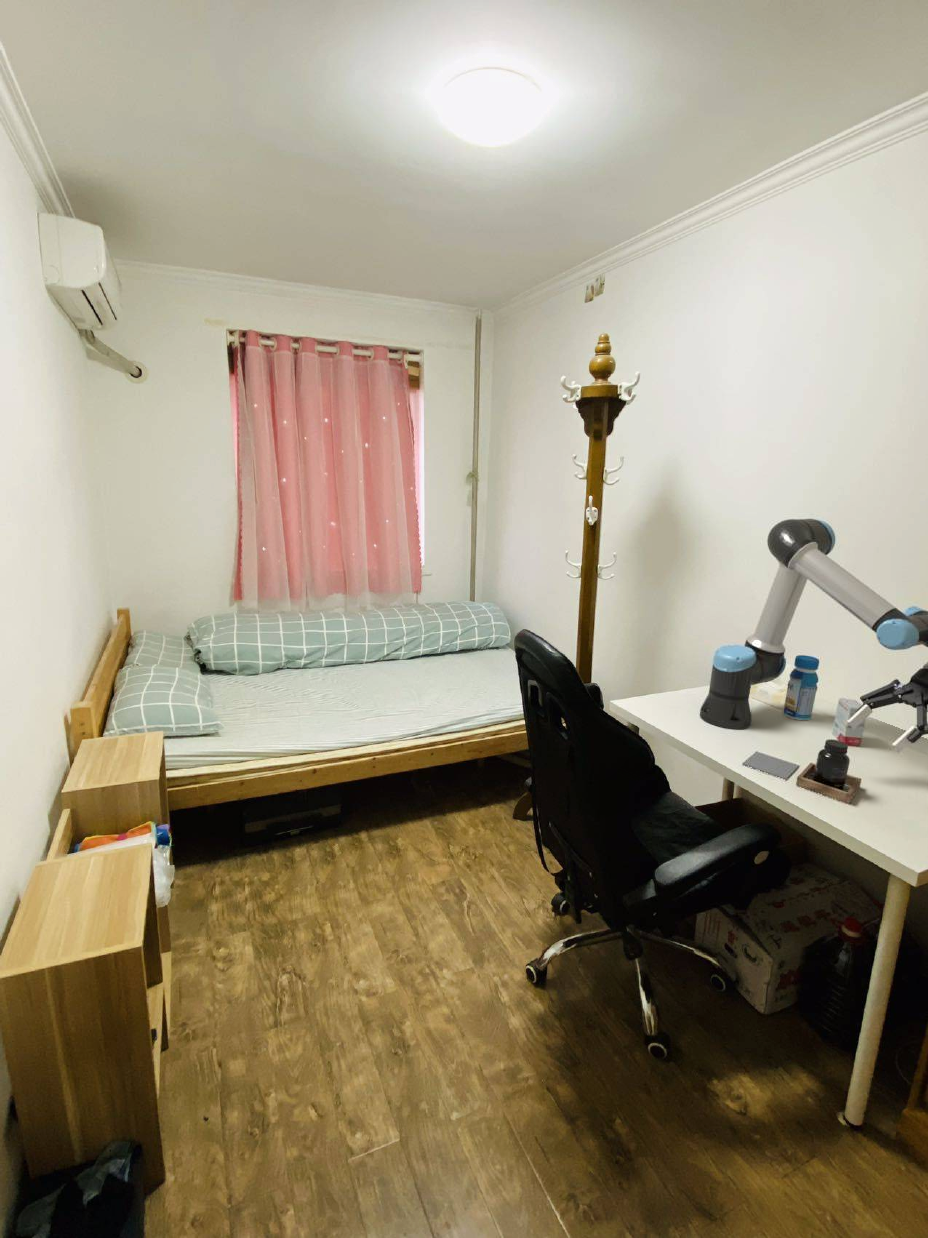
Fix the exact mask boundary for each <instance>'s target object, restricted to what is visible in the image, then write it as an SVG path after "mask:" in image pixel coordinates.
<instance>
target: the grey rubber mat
mask: <svg viewBox="0 0 928 1238" xmlns="http://www.w3.org/2000/svg"><path fill="white" fill-rule="evenodd" d="M742 764H743V765H742ZM741 765H742V766H744V765H745V766H744V767H746V766H749V767H752V768H754V769H753V770H755V769H758V770H760V771H759V772H761V771H762V772H761V773H764V772H766V773H765V774H767V773H768V774H767V775H769V774H772V775H774V776H773V777H775V776H777V777H776V778H778V777H780V778H779V779H781V778H783V779H782V780H784V779H785V780H784V781H787V780H788V779H789V778H790V777H791V776H792V775H793V773H795V771H796V770H797V769H798V768H799V767H800V765H799V764H796V763H794V762H791V761H787V760H784V759H782V758H778V757H775V756H772V755H769V754H765V753H762V752H759V751H755V752H753V754H751V755H750V756H749V757H748V758H747V759H746V760H744V761H743V762H742V763H741ZM749 767H748V768H749ZM752 768H751V769H752ZM758 770H757V771H758ZM772 775H771V776H772ZM787 778H788V779H787ZM786 779H787V780H786Z"/></svg>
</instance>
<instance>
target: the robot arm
mask: <svg viewBox="0 0 928 1238" xmlns="http://www.w3.org/2000/svg"><path fill="white" fill-rule="evenodd" d="M766 541H767V542H766V543H767V549H768V550H769V552H770V554H771V555H772V557H774V558H775V559H776V560H777V562H778V564H779V566H778V568H777V570H776V573H775V575H774V576H775V577H774V579H773V582H772V584H771V587H770V590H769V593H768V595H767V598H766V601H765V604H764V606H763V609H762V611H761V613H760V617H759V619H758V623H757V625H756V628H755V630H754V633H753V634H751V635H749V636H747V637H746V640H745V643H744V645H740V644H733V645H731V644H728V645H727V644H726V645H722V646H720V647H718V648H717V649H716V650H715V651H714V656H713V659H712V668H711V674H710V675H711V676H710V681H709V689H708V693H707V696H706V698H705V699H704V702H703V703H702V705H701V707H700V710H699V718H701V720H703V721H704V722H707V723H708V724H711V725H713V726H716V727H720V728H725V729H731V730H733V729H735V730H736V729H737V730H740V729H741V730H742V729H747V728H750V727H751V725H752V718H753V716H752V712H751V707H750V702H749V698H750V694H751V688H752V686H755V685H760V684H763V683H768V682H772V681H774V680H775V679H778V678H779V677H780V676H781V675H782V674H783V672H784V671H785V669H786V666H787V659H786V657H785V653H786V647H785V645H784V644H783V643H784V640H785V638H786V636H787V633H788V630H789V628H790V625H791V622H792V619H794V618H793V617H794V615H795V612H796V609H797V607H798V605H799V603H800V599H801V598H802V594H803V592H804V590H805V587H806V584H807V582H808V581H810V582H811V583H812V584H814V585H815V586H816V587H818V589H820V590H821V591H822V592H823V593H825V594H826V595H827V596H828V597H830V598H831V599H833V600H834V601H835V602H836V603H838V604H839V605H840V606H841V607H843V608H844V609H845V610H846V611H848V612H849V613H850V614H851V615H852V616H854V617H855V618H856V619H858V620H859V621H860V622H862V624H864V625H865V626H867V628H869V629H871V631H873V632H874V633H875V634H876V639H877V642H878V643H879V644H880V645H881V646H882V647H884V648H886V649H887V650H890V651H891V650H892V651H898V650H901V651H902V650H907V649H910V648H913V647H916V646H922V645H923V646H924V647H926V648H928V610H925V609H923V608H920V607H918V606H912V605H911V606H909V607H908V608H905V610H903V611H901V610H900V609H898V608H897V607H896V606H894V605H893V604H892V603H891V602H889V601H888V600H887V599H885V598H884V597H883V596H881V595H880V594H879V593H877V592H876V591H874V589H872V588H871V587H870V586H868V585H866V584H865V583H864V582H862V581H861V580H860V579H858V577H856V576H854V575H853V574H852V573H850V572H849V571H848V570H846V569H845V568H844V567H842V566H841V565H840V564H838V563H836V562H835V561H834V559H832V558H831V557H829V556H828V555H829V554H830V553H831V552H832V551H833V549H834V548H835V544H836V533H835V532H834V529H833V527H832V526H831V525H830V524H829V523H827V522H826V521H823V520H821V519H815V518H804V519H803V518H802V519H801V518H798V519H797V518H796V519H795V518H792V519H791V518H790V519H784V520H781V521H780V522H778V523H776V524H775V525H774V526H773V527H772V528H771V529H770V531H769V533H768V535H767V540H766ZM859 700H860V701H861V702H862V704H861V705H862V706H861V707H859V709H857V710H856V711H855V713H856V714H854V715H853V716H852V717H851V718H850V719H849V720H848V721H847V722H848V723H849V725H850V726H851V727H852V728H853V729H855V728H856V727H857V726H858V725H859V724H860V723H861V722H863V721H864V720H865V719H867V718H868V717H869V716H870V715H872V714H873V712H874V711H873V710H874V709H875V710H876V709H878V708H882V707H886V706H891V705H894V704H904V705H907V706H911V707H912V708H914V709H916V724H915V726H914V725H912V726H911V727H909V728H908V729H907V730H906V731H905V732H904V733H902V735H900V736H899V737H898V738H897V739H896V740H895V741H894V742H893V743H892V746H893V748H894V749H895V750H896V752H897V753H899V754H900V753H902V751H904V749H906V748H907V747H908V746H909V745H910V744H914V743H916V742H917V741H918V740H919V739H920V738H921V737H922V736H925V735H928V661H927V662H925V664H923V666H922V667H920V669H918V670H917V671H916V672H914V674H912V676H911V677H910V680H909V681H908V682H907V683H905V684H903V683H902V682H901V681H900V680H899V679H897V678H895V679H894V680H892V681H891V682H890V683H889V684H886V685H884V686H881V687H878V688H877V689H875V690H871V691H870V692H868V693H866V694H863V695H861V696H860V697H859ZM865 721H866V720H865Z"/></svg>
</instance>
